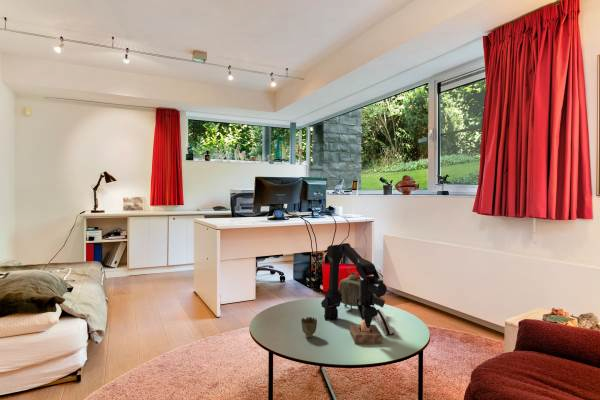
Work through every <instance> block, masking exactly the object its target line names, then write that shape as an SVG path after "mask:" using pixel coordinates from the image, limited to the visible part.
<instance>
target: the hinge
mask: <svg viewBox="0 0 600 400" xmlns="http://www.w3.org/2000/svg"><path fill="white" fill-rule="evenodd" d="M377 311H378V315H377V316H374V318H375V320H376V323H377V325H378V327H379V328H380V330H381V332H382V333H383V334H384V336H388V335H389V334H390V335H391V334H393V335H394V336H396V333H395V331H394V329H393V328H392V327H391V325H390V322H389V320H388V318H387V316H386V314H385V312H384V311H383V310H382V309H381V308H377Z"/></svg>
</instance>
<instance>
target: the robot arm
mask: <svg viewBox="0 0 600 400" xmlns="http://www.w3.org/2000/svg"><path fill="white" fill-rule="evenodd" d="M326 254H327V255H326V256H327V259H328V261H329V271H328V273H329V274H328V288H327V290H326V291H325V295H324V299H322V301H321V302H320V304H321V307H322V308H324V310H323V311H324V312H323V313H324V314H323V318H324V320H325V321H338V318H339V310H338V308H340V306H341V304H342V303H341V301H342V293H340V291H339V283H340V282H339V280H340V279H339V276H340V262H341V261H342V259H343V257H344V256H345V257H346V258H348V260H349V261H350V262H352V264H353V265H354V267H356V268H355V270H356V273H357V272H358V276H357V279H360V291H359V294H360V297H357V298H356V305H357V306H356V308H357V310H358V313H359V315H360V317H361V320H364V321H365V324H366V327H367V328H370V325H372V321H373V318H375V316H377V315H378V311H377V310H378V308H376V306H378V307H380V308H384V305H385V303H386V300H385V299H384V298H383V297H384V296H385V295H386V293H387V290H388V289H387V286H386V284H385V283H384V280H382V279H380V278H381V277H380V276H379V275H380V274H379V273H378V271H377V268H376V266H375V264H374V263H373V262H371V261H370V260H368V259H364V258H363V257H362V256H361V255H360V254H359V253H358V252H357V251H356V250H355V249H354V248H353V247H352V246H351V244H350V243H348V242H343V243H340V244H331V245H328V246H327V248H326ZM375 305H376V306H375Z"/></svg>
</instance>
